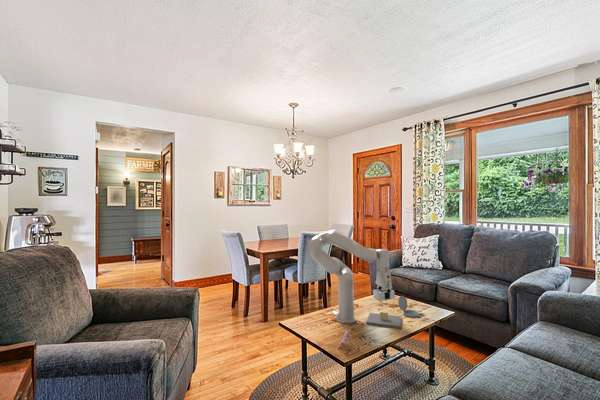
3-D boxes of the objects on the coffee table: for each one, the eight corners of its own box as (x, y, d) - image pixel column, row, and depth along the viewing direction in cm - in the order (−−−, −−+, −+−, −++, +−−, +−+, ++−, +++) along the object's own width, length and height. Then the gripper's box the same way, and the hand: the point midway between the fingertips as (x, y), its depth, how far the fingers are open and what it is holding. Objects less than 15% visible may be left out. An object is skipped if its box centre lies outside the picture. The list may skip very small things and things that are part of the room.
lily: (348, 340, 160) (339, 325, 160) (365, 338, 152) (355, 322, 152) (337, 356, 151) (328, 339, 151) (354, 354, 143) (344, 337, 144)
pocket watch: (404, 294, 202) (425, 299, 190) (405, 310, 202) (425, 316, 190) (396, 297, 196) (417, 303, 184) (397, 313, 195) (417, 320, 184)
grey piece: (366, 324, 178) (366, 314, 179) (369, 314, 193) (369, 305, 194) (400, 328, 171) (400, 318, 171) (401, 318, 186) (401, 309, 186)
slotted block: (380, 301, 177) (379, 293, 177) (373, 297, 184) (373, 290, 184) (394, 298, 181) (394, 290, 181) (387, 295, 188) (387, 288, 188)
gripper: (397, 271, 176) (397, 300, 176) (379, 265, 192) (380, 292, 192) (387, 272, 173) (387, 302, 173) (370, 266, 190) (370, 293, 189)
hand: (383, 296), depth 183 cm, fingers closed on slotted block, 7 cm apart
